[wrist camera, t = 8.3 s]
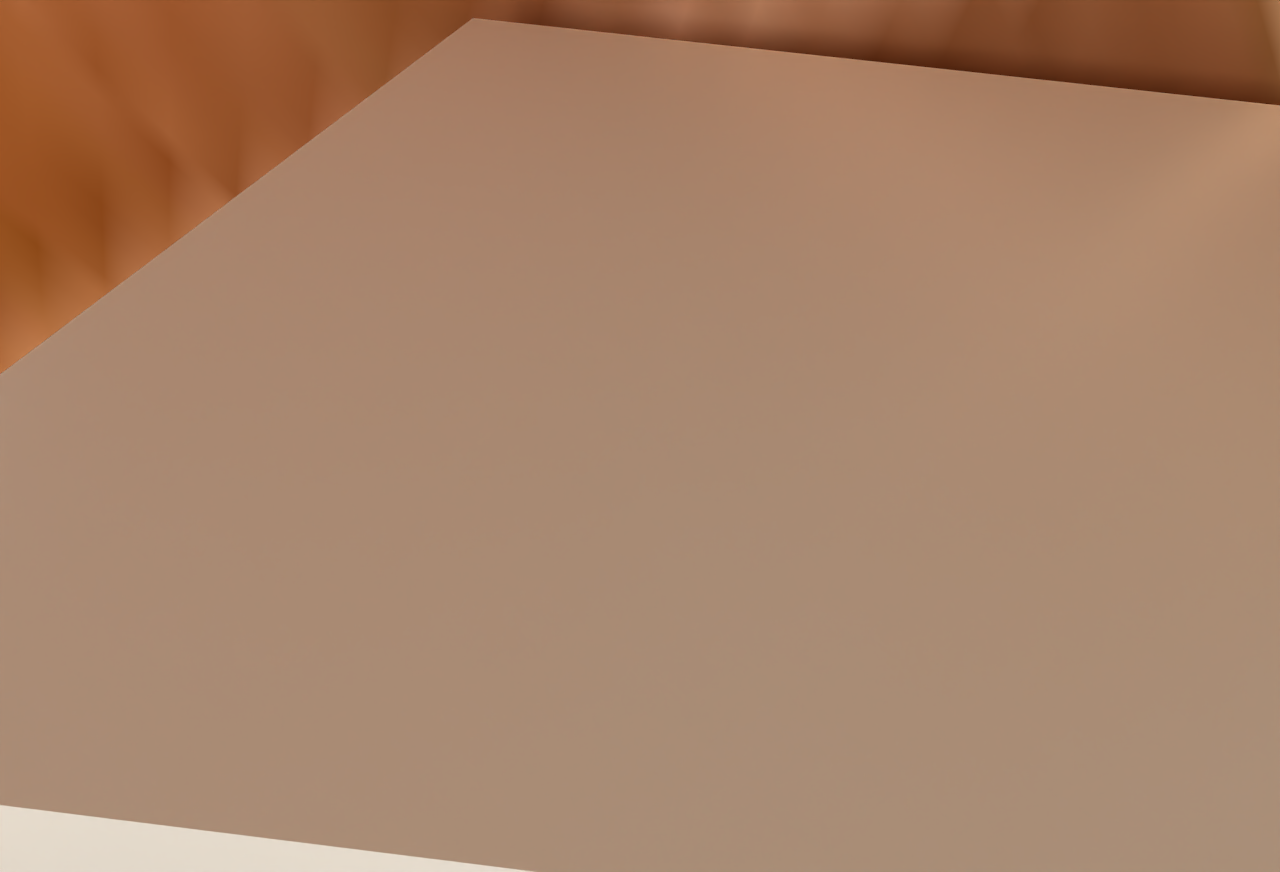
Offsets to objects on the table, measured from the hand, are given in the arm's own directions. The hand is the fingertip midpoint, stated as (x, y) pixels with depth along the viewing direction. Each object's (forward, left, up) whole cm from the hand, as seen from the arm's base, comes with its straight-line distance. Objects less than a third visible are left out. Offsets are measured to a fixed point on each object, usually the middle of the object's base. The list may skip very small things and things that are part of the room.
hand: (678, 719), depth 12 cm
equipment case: (-1, -4, -10) cm, 11 cm away
